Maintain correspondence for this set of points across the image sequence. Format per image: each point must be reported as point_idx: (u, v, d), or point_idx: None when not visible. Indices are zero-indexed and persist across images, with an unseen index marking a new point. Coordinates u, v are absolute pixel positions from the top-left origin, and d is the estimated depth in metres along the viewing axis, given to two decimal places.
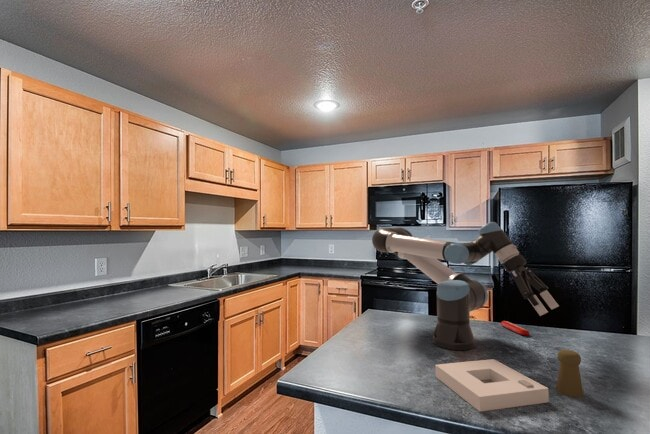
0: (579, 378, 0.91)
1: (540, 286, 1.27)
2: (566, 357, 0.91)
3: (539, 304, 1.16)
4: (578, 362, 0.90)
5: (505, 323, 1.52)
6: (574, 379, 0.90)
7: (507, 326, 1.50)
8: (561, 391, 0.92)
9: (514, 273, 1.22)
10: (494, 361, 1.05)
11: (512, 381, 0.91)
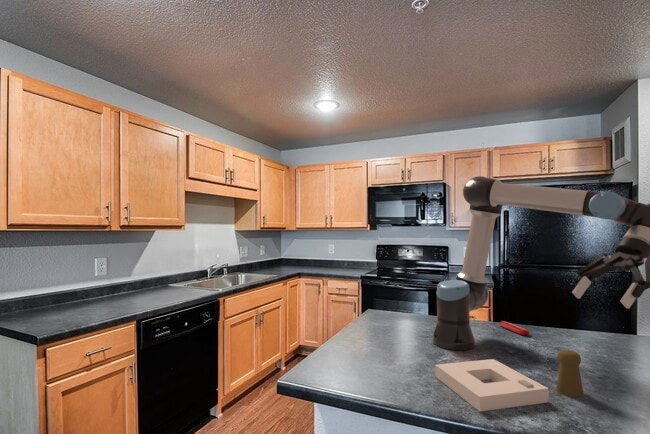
0: (579, 378, 0.91)
1: (595, 276, 1.03)
2: (566, 357, 0.91)
3: (634, 297, 0.90)
4: (578, 362, 0.90)
5: (504, 323, 1.51)
6: (574, 379, 0.90)
7: (506, 326, 1.50)
8: (561, 391, 0.92)
9: None
10: (494, 361, 1.05)
11: (512, 381, 0.91)
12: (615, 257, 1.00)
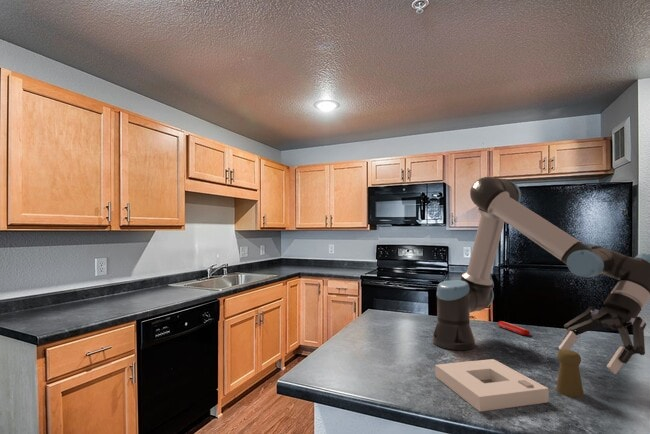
0: (579, 378, 0.91)
1: (582, 331, 1.00)
2: (566, 357, 0.91)
3: (621, 363, 0.86)
4: (578, 362, 0.90)
5: (503, 323, 1.51)
6: (574, 379, 0.90)
7: (505, 326, 1.49)
8: (561, 391, 0.92)
9: (643, 322, 0.89)
10: (494, 361, 1.05)
11: (512, 381, 0.91)
12: (603, 314, 0.96)
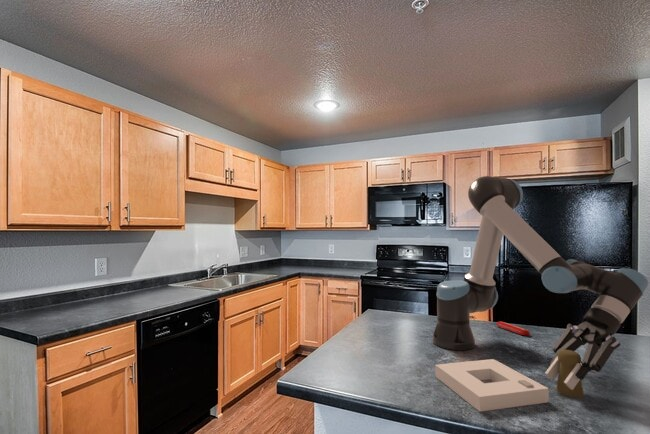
0: None
1: None
2: (566, 357, 0.91)
3: (578, 379, 0.89)
4: (578, 362, 0.90)
5: (502, 324, 1.51)
6: None
7: (505, 327, 1.49)
8: (561, 391, 0.92)
9: (616, 343, 0.88)
10: (494, 361, 1.05)
11: (512, 381, 0.91)
12: (583, 329, 0.96)
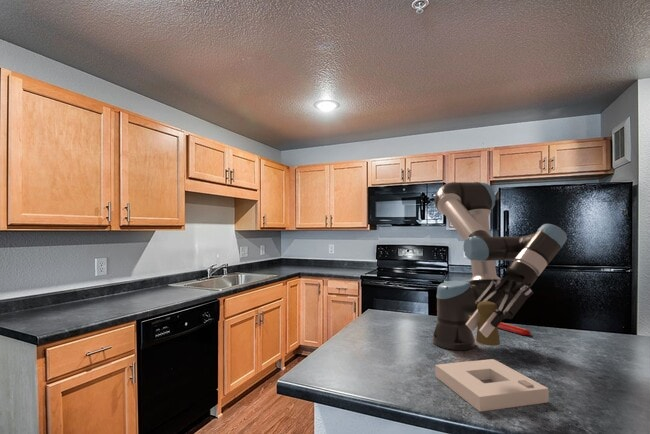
0: (495, 327, 0.93)
1: None
2: (483, 306, 0.94)
3: (493, 327, 0.92)
4: (494, 311, 0.93)
5: (500, 324, 1.50)
6: None
7: (504, 327, 1.48)
8: (479, 340, 0.94)
9: (528, 291, 0.91)
10: (494, 361, 1.05)
11: (512, 381, 0.91)
12: (503, 281, 0.98)
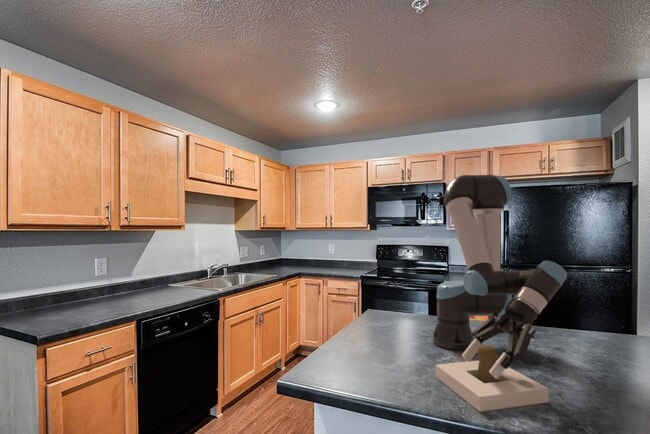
0: None
1: (486, 338, 1.01)
2: (483, 352, 0.93)
3: (503, 368, 0.89)
4: (494, 357, 0.92)
5: None
6: (490, 374, 0.92)
7: None
8: None
9: (531, 329, 0.91)
10: None
11: (512, 381, 0.91)
12: (502, 319, 0.98)
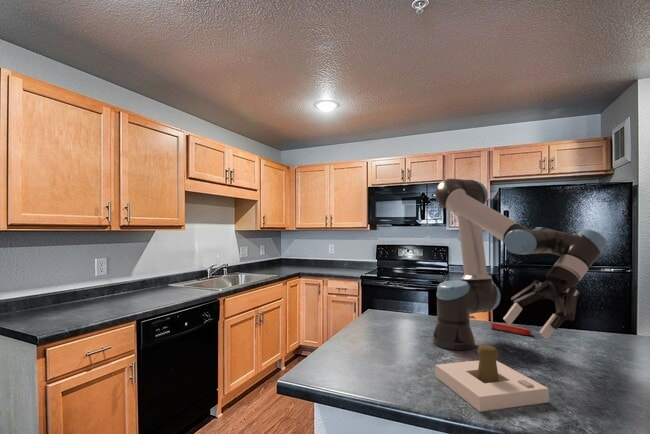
0: (495, 373, 0.93)
1: (526, 303, 1.06)
2: (483, 352, 0.93)
3: (553, 329, 0.92)
4: (494, 357, 0.93)
5: (499, 325, 1.48)
6: (490, 374, 0.92)
7: (503, 328, 1.47)
8: None
9: (576, 292, 0.94)
10: None
11: (512, 381, 0.91)
12: (544, 286, 1.02)
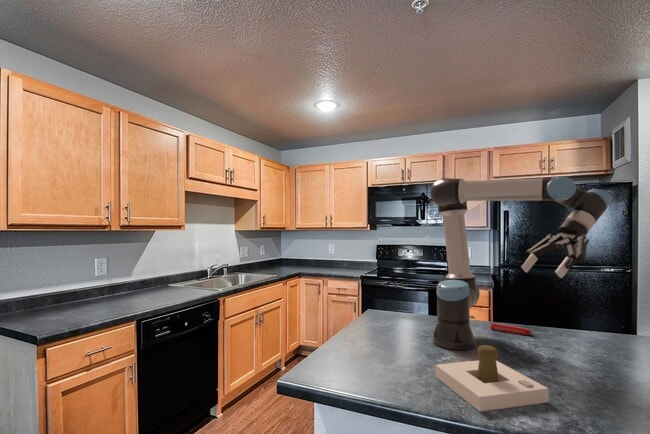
0: (495, 373, 0.93)
1: (541, 253, 1.21)
2: (483, 352, 0.93)
3: (566, 269, 1.07)
4: (494, 357, 0.93)
5: (499, 326, 1.47)
6: (490, 374, 0.92)
7: (503, 329, 1.46)
8: None
9: (586, 239, 1.09)
10: None
11: (512, 381, 0.91)
12: (557, 237, 1.17)
